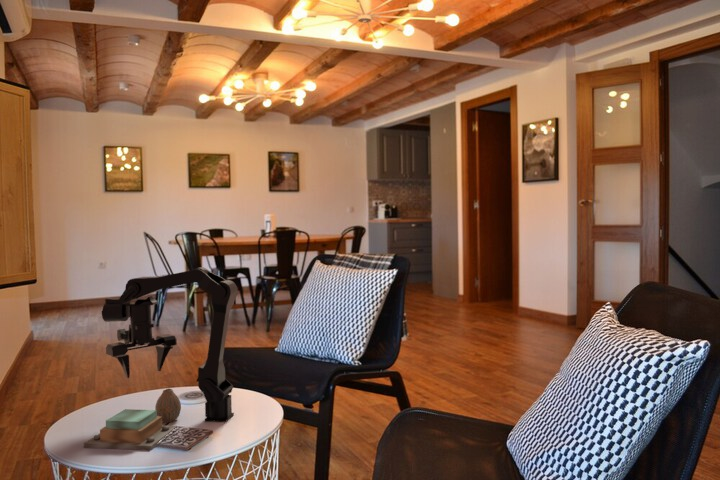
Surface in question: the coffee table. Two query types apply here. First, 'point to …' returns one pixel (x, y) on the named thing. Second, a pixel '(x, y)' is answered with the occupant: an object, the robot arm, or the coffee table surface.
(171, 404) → the vase
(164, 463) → the coffee table surface
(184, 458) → the coffee table surface
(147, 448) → the stacked plates with bolts
